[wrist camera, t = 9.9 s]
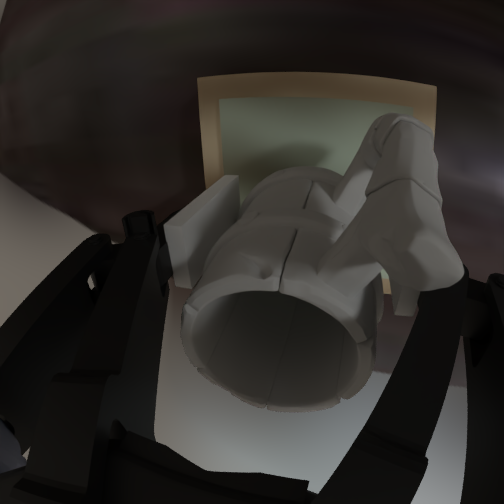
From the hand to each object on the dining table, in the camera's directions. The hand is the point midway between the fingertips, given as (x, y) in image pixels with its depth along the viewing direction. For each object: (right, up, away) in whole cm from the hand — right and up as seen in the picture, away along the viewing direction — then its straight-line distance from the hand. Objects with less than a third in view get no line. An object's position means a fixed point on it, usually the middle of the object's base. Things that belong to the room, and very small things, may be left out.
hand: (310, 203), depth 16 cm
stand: (+2, +3, +5) cm, 6 cm away
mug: (+1, 0, +1) cm, 1 cm away
